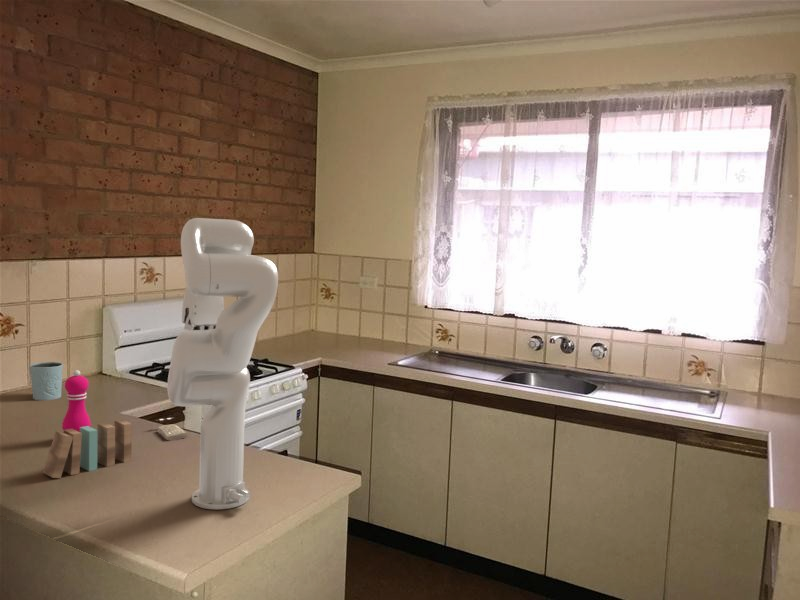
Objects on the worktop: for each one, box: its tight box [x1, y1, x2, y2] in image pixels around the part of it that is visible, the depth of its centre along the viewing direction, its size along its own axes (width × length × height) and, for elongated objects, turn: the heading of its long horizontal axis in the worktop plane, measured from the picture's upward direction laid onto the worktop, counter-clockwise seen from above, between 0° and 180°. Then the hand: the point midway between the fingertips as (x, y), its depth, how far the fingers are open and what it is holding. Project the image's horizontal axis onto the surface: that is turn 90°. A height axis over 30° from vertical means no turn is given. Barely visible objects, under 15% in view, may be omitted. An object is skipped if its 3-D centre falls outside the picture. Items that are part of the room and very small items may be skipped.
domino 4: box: [96, 422, 116, 468], centre depth 170 cm, size 5×2×10 cm, turn 51°
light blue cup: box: [29, 361, 64, 401], centre depth 230 cm, size 10×10×12 cm
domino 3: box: [80, 426, 98, 472], centre depth 167 cm, size 5×2×10 cm, turn 51°
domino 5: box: [113, 419, 133, 463], centre depth 174 cm, size 5×2×10 cm, turn 51°
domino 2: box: [63, 429, 82, 476], centre depth 163 cm, size 5×2×10 cm, turn 51°
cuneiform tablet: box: [154, 416, 188, 442], centre depth 196 cm, size 6×4×12 cm
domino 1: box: [42, 430, 73, 479], centre depth 161 cm, size 5×2×10 cm, turn 51°
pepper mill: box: [61, 369, 92, 432], centre depth 187 cm, size 7×7×20 cm
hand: (203, 351), depth 174 cm, fingers closed
